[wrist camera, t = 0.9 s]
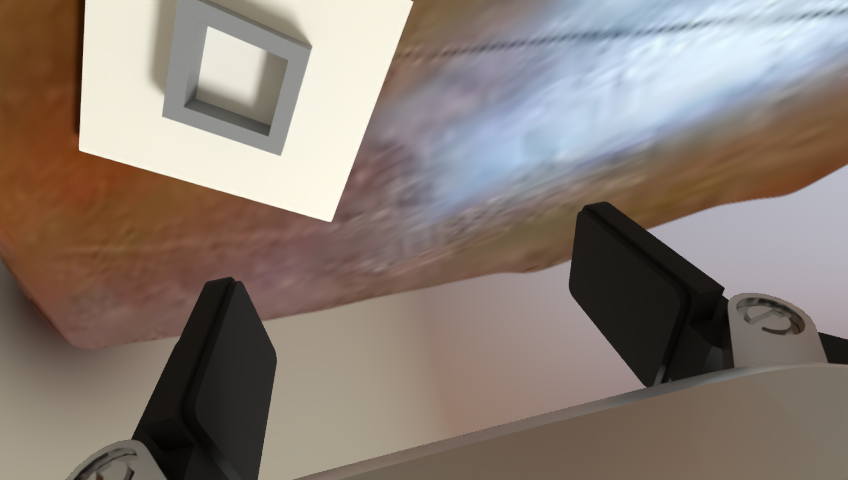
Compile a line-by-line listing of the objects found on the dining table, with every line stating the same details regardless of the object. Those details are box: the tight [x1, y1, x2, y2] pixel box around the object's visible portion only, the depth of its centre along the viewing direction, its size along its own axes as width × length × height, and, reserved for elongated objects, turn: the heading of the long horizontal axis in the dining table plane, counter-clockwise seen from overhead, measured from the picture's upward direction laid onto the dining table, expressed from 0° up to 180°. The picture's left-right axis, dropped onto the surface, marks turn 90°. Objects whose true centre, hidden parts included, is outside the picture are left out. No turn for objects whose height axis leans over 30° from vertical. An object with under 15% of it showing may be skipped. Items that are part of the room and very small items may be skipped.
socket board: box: [79, 0, 413, 222], centre depth 29 cm, size 20×20×4 cm
